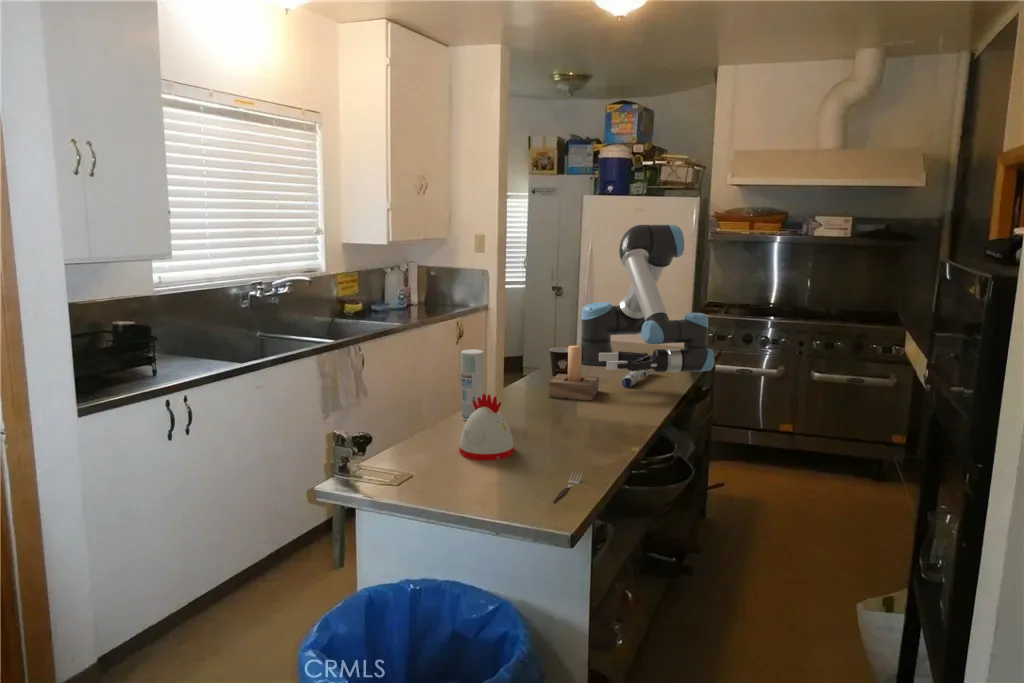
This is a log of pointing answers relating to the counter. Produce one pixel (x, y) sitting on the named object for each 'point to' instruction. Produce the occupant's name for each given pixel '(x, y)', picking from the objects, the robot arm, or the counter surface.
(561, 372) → the coffee mug
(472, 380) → the spray can
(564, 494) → the fork
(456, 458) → the counter surface
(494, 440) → the kitchen timer
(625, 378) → the toothbrush head
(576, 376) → the peg
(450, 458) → the counter surface
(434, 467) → the counter surface
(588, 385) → the socket block
